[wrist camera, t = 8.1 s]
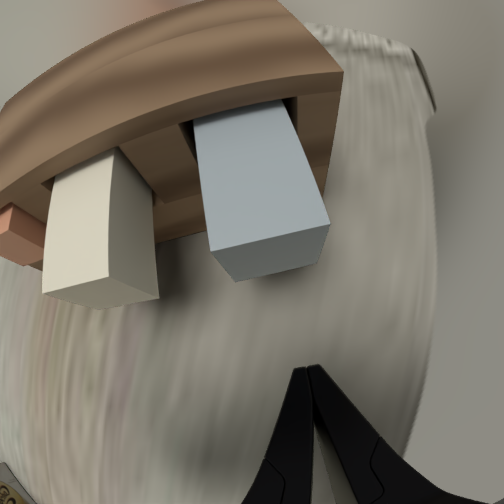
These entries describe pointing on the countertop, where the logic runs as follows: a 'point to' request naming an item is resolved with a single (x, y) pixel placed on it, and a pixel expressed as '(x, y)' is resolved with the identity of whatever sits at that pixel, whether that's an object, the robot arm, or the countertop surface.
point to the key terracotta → (21, 235)
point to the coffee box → (11, 488)
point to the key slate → (258, 191)
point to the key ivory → (100, 235)
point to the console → (167, 103)
